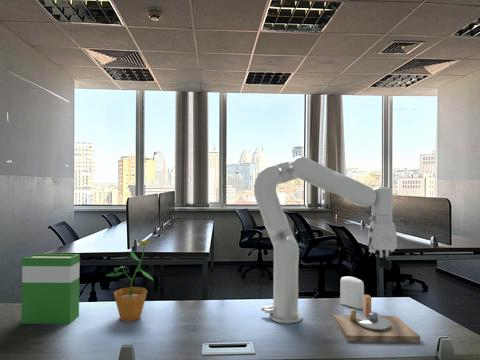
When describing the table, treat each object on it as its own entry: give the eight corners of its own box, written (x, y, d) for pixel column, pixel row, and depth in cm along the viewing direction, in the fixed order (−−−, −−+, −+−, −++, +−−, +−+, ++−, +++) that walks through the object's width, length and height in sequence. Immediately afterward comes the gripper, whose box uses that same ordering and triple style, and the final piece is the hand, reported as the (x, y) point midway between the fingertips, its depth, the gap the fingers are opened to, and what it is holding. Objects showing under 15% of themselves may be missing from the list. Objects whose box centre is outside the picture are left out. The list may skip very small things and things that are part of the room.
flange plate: (395, 331, 119) (395, 307, 119) (363, 330, 120) (363, 307, 120) (380, 316, 133) (380, 294, 133) (351, 315, 133) (351, 294, 133)
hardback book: (21, 323, 129) (22, 257, 129) (33, 315, 136) (34, 253, 136) (69, 323, 129) (70, 258, 129) (78, 316, 136) (79, 254, 136)
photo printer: (338, 303, 153) (338, 275, 153) (344, 301, 155) (344, 273, 155) (359, 310, 145) (360, 280, 145) (365, 308, 147) (365, 278, 147)
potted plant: (159, 309, 144) (160, 236, 144) (145, 328, 125) (146, 244, 126) (116, 308, 145) (117, 235, 145) (96, 327, 126) (97, 243, 126)
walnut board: (347, 341, 116) (347, 323, 116) (333, 320, 134) (333, 304, 134) (419, 342, 116) (420, 324, 116) (396, 321, 134) (396, 305, 134)
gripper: (371, 220, 128) (371, 271, 128) (405, 219, 133) (405, 268, 132) (358, 218, 136) (359, 266, 135) (391, 217, 140) (391, 263, 140)
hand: (381, 267), depth 134 cm, fingers closed
